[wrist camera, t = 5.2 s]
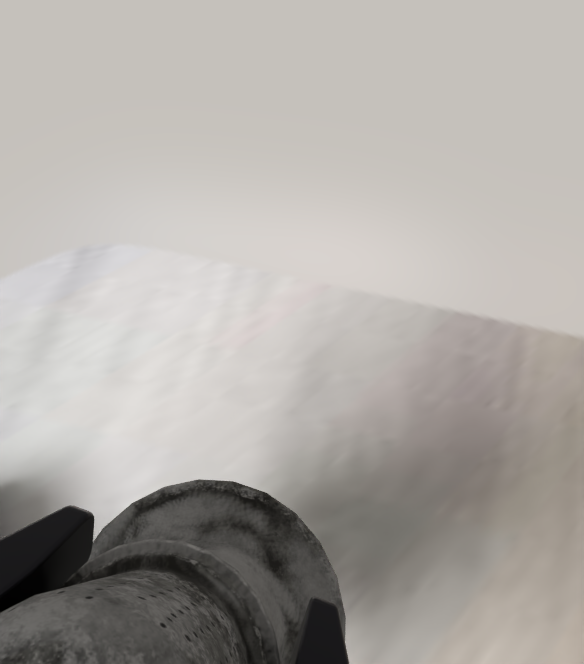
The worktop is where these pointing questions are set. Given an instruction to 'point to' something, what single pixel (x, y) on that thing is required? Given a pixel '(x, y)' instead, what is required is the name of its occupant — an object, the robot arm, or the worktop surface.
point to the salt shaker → (181, 585)
